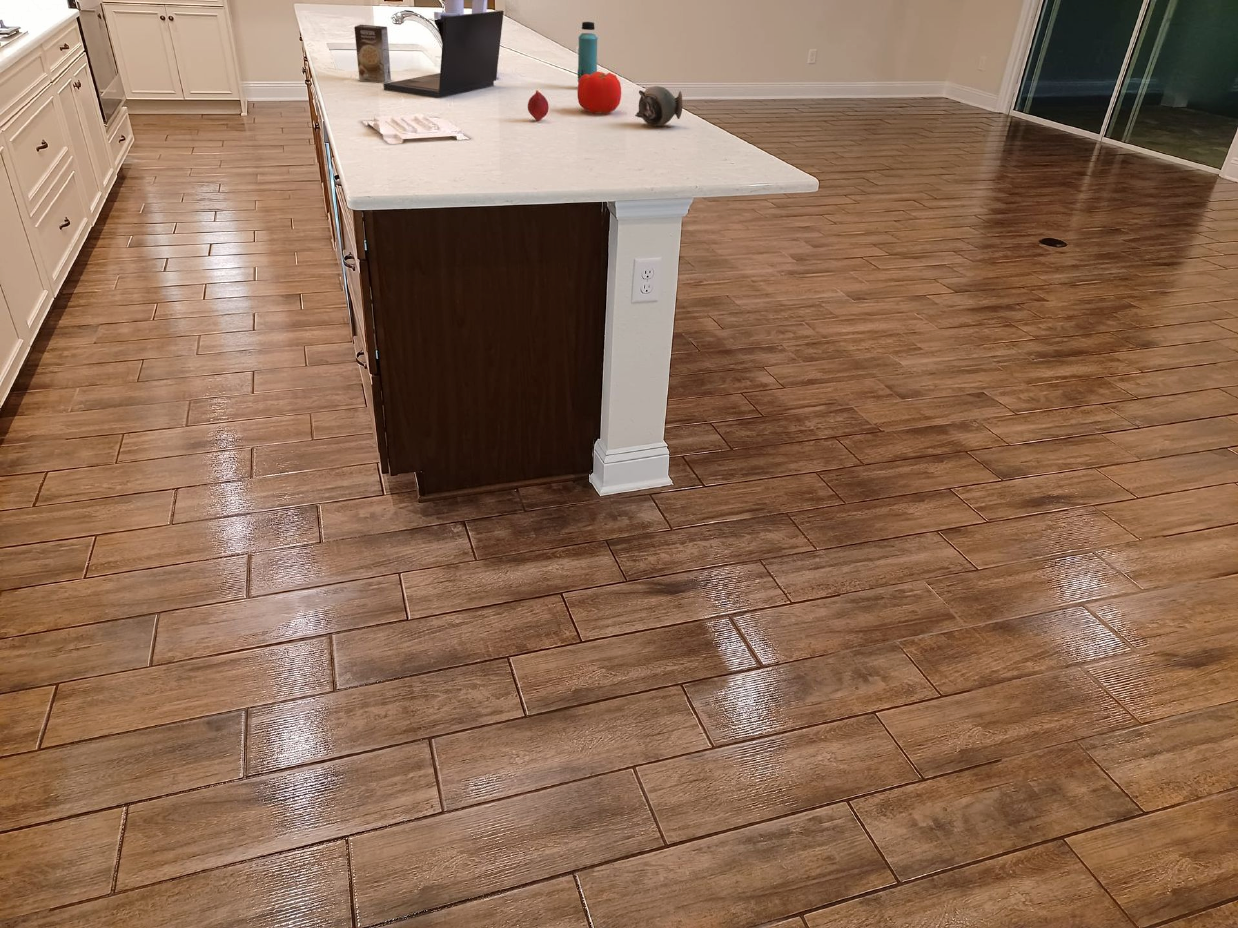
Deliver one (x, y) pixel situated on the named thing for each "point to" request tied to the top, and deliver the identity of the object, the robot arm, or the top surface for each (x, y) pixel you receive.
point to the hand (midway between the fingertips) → (454, 46)
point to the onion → (538, 106)
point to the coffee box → (372, 53)
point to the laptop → (428, 86)
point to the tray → (413, 127)
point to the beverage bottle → (587, 51)
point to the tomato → (599, 92)
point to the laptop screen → (470, 49)
